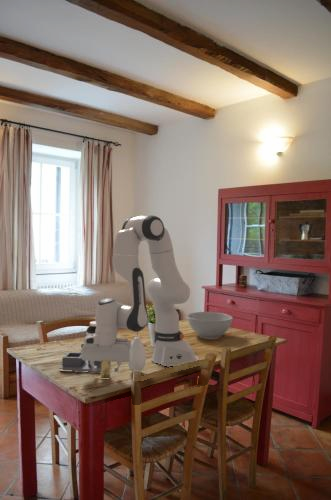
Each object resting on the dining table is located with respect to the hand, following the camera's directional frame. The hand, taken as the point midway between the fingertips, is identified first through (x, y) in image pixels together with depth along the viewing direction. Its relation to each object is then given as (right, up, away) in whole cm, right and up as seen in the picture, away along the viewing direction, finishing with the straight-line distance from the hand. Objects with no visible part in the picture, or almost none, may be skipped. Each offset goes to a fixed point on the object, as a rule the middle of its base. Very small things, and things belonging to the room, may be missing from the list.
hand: (105, 371), depth 161 cm
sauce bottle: (+12, -3, +6) cm, 14 cm away
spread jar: (-12, -1, +48) cm, 49 cm away
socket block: (-11, -2, +12) cm, 17 cm away
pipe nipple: (0, -3, 0) cm, 3 cm away
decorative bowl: (+51, -1, +69) cm, 86 cm away
